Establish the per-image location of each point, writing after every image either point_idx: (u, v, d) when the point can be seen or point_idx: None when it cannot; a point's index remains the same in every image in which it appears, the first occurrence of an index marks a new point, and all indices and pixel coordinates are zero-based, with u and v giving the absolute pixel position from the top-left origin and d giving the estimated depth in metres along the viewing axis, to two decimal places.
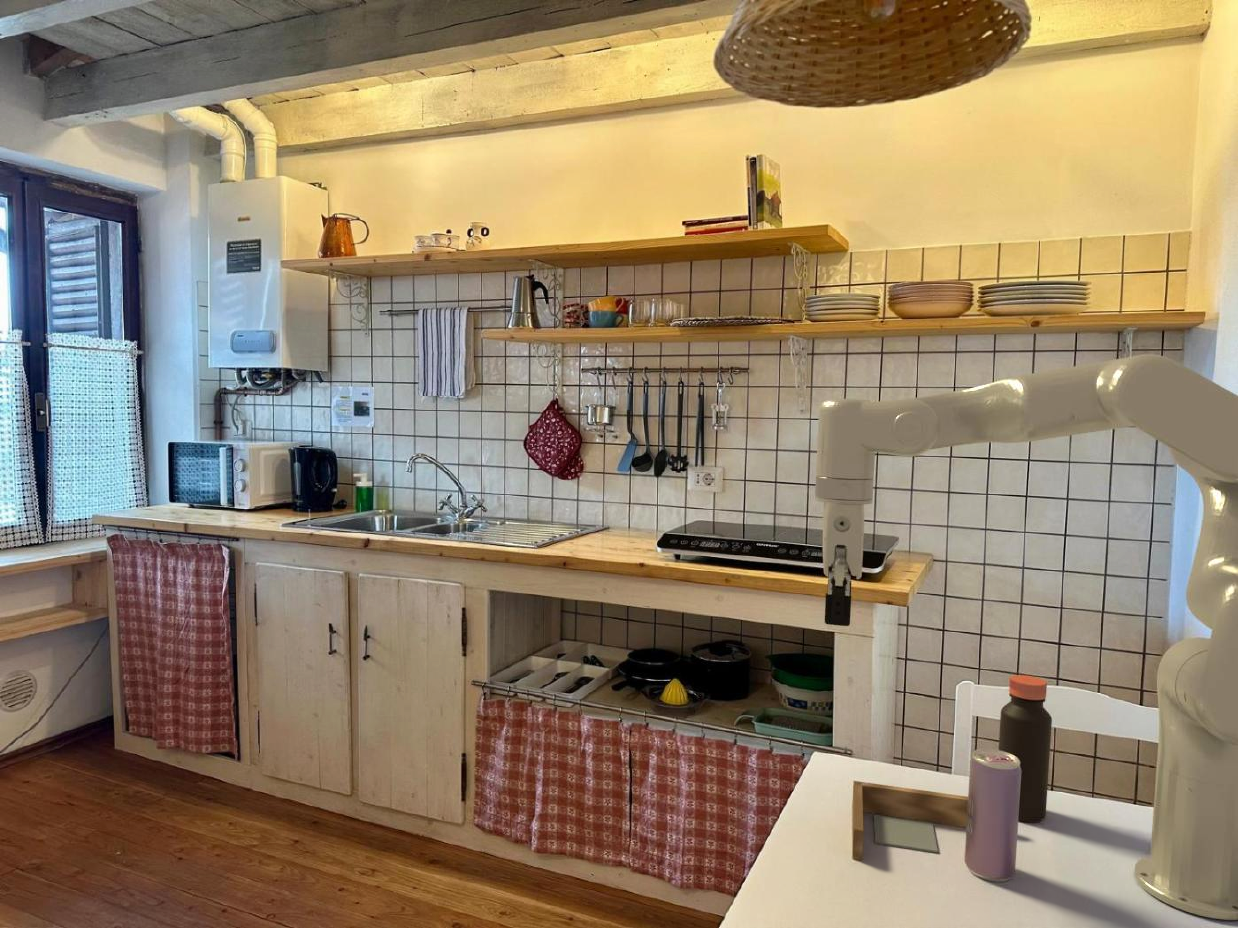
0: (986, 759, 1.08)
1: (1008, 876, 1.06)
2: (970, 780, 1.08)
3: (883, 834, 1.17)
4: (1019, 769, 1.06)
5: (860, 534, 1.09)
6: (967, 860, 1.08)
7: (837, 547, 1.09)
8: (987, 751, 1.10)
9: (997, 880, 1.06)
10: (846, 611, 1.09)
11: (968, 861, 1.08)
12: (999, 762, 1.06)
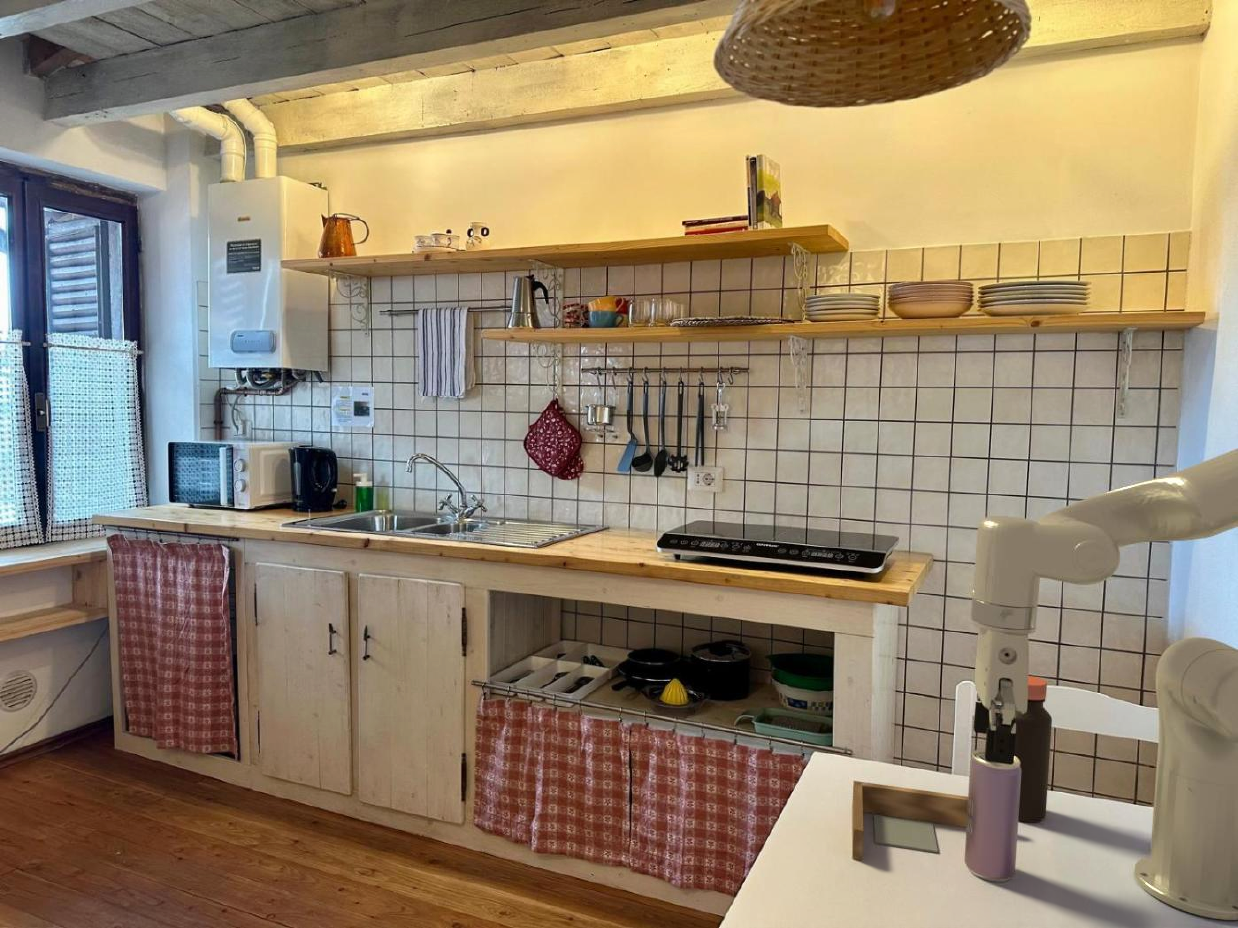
0: None
1: (1008, 876, 1.06)
2: (970, 780, 1.08)
3: (883, 834, 1.17)
4: (1019, 769, 1.06)
5: (1027, 667, 1.02)
6: (967, 860, 1.08)
7: (1002, 680, 1.02)
8: None
9: (997, 880, 1.06)
10: (1010, 748, 1.02)
11: (968, 861, 1.08)
12: None
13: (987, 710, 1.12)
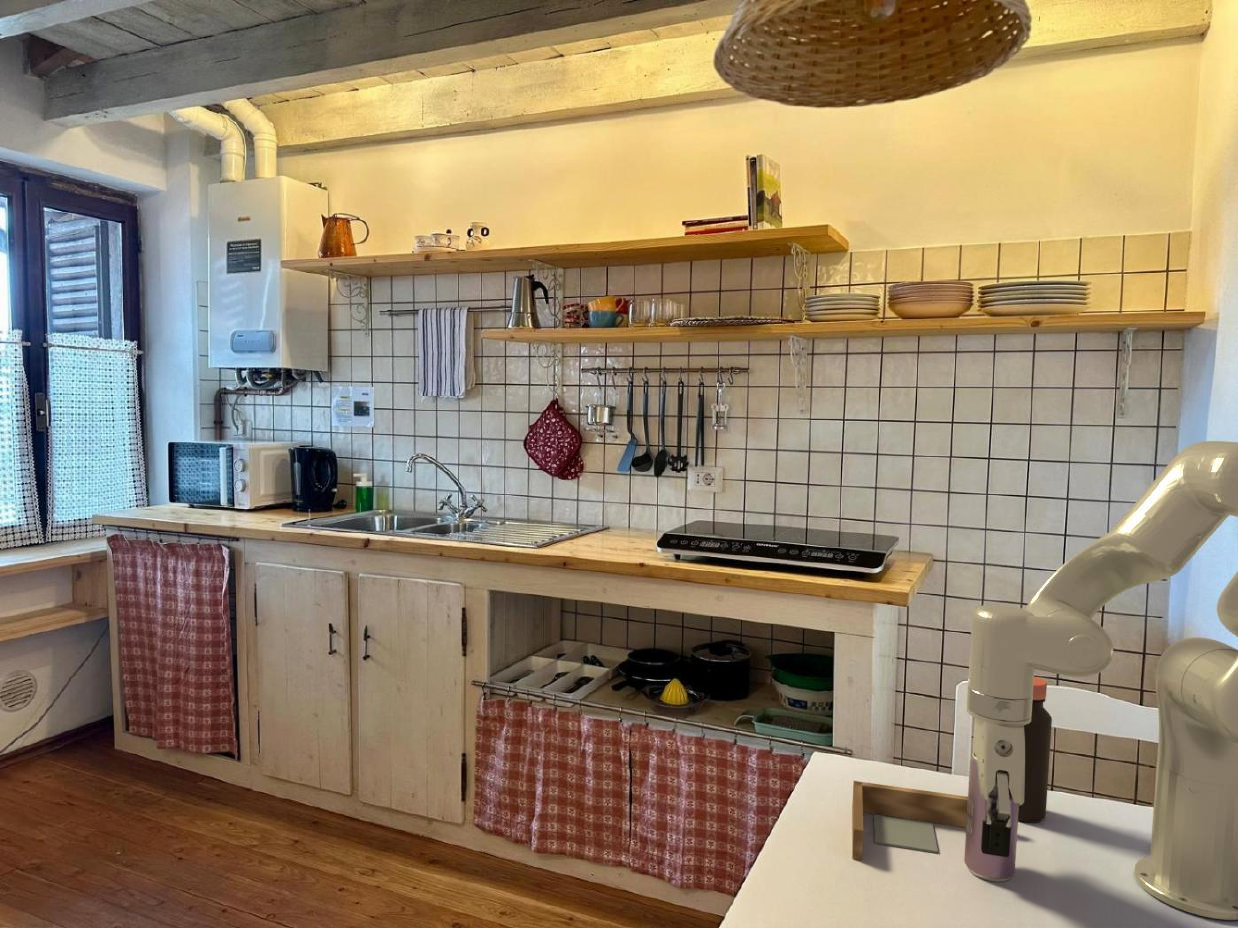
0: None
1: (1008, 876, 1.06)
2: (970, 780, 1.08)
3: (883, 834, 1.17)
4: None
5: (1023, 759, 1.02)
6: (966, 860, 1.08)
7: (998, 776, 1.03)
8: None
9: (997, 880, 1.06)
10: (1005, 841, 1.04)
11: (968, 861, 1.08)
12: None
13: None
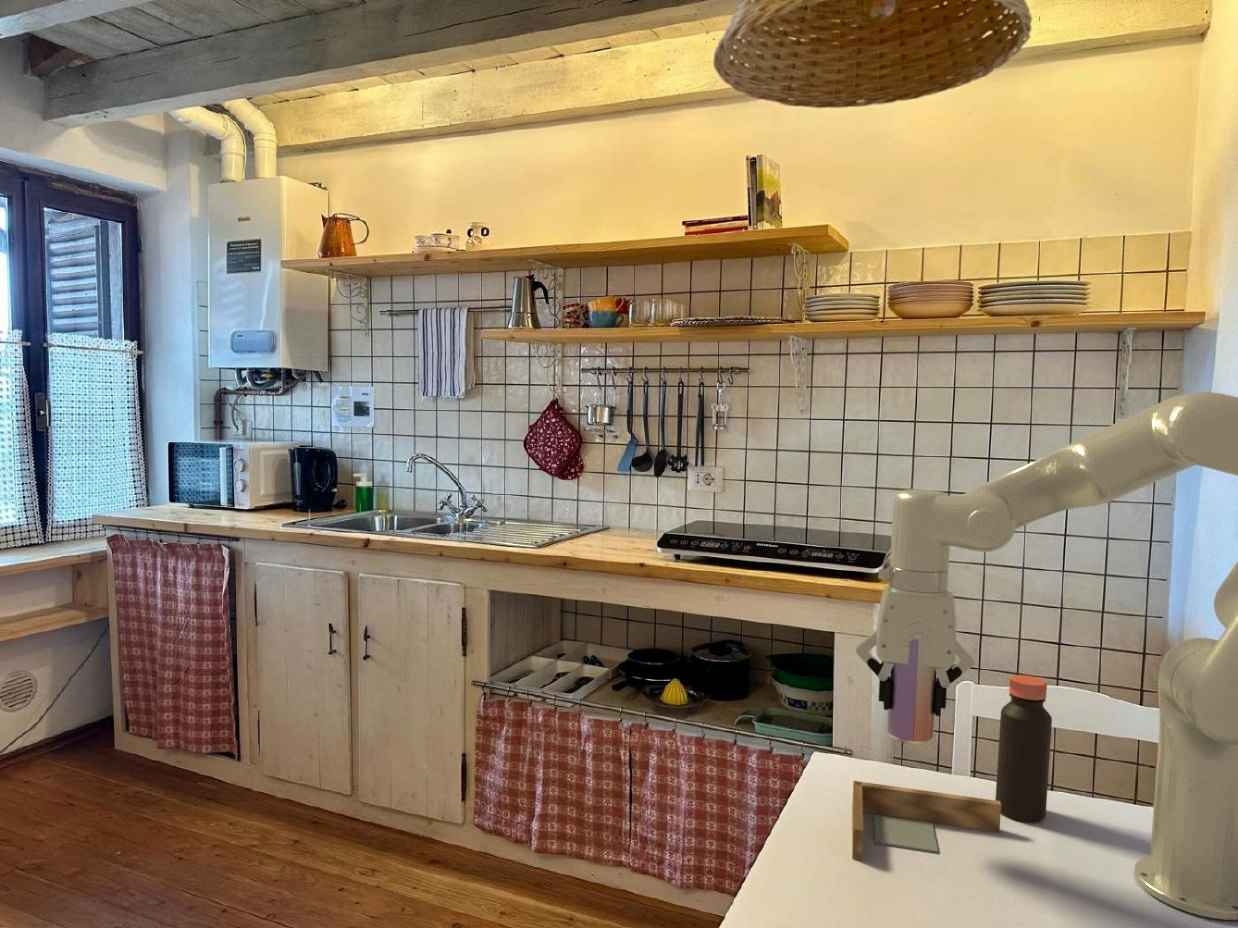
0: None
1: (892, 734, 1.15)
2: None
3: (883, 834, 1.17)
4: None
5: (881, 618, 1.14)
6: None
7: None
8: None
9: (890, 734, 1.17)
10: (884, 695, 1.16)
11: None
12: None
13: None
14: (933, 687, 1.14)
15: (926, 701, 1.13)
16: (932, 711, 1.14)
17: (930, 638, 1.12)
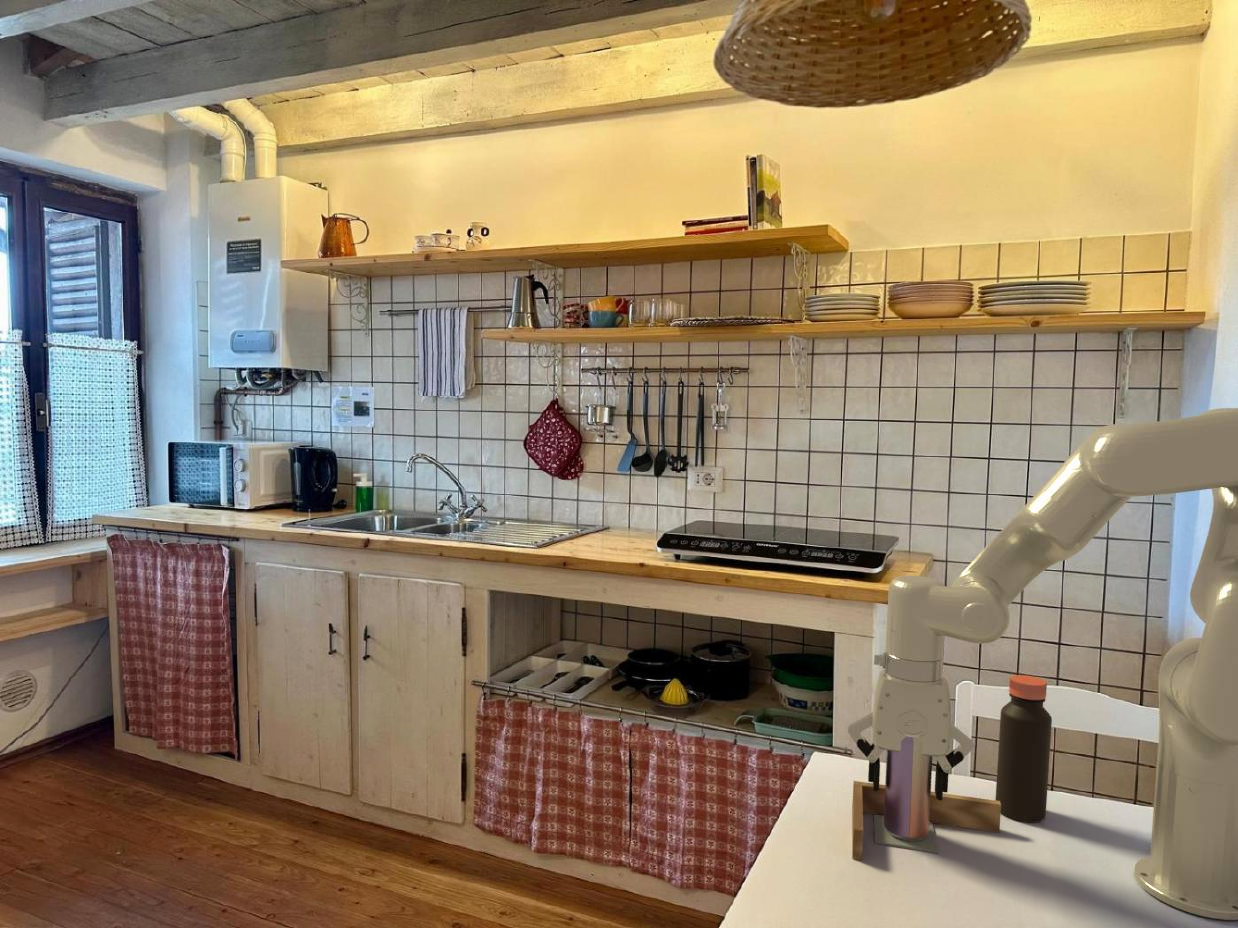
0: None
1: (888, 829, 1.16)
2: None
3: (883, 834, 1.17)
4: None
5: (877, 705, 1.15)
6: None
7: (872, 712, 1.18)
8: None
9: (886, 829, 1.18)
10: (874, 776, 1.17)
11: None
12: None
13: (936, 772, 1.16)
14: (928, 784, 1.15)
15: (922, 799, 1.14)
16: (928, 808, 1.15)
17: (925, 726, 1.13)
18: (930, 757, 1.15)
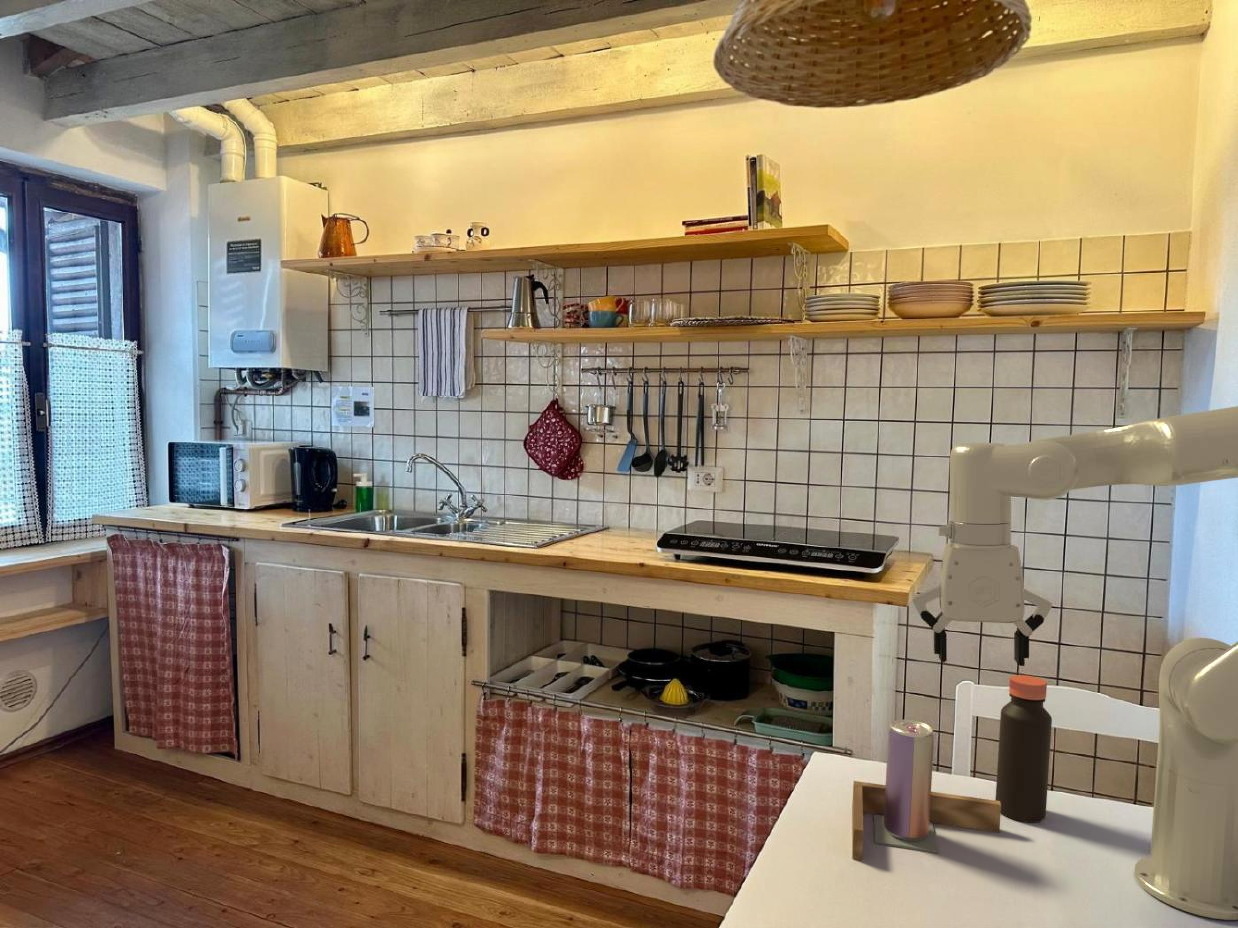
0: None
1: (889, 829, 1.16)
2: None
3: (883, 834, 1.17)
4: (903, 738, 1.14)
5: (946, 575, 1.12)
6: None
7: None
8: (926, 728, 1.17)
9: (886, 829, 1.18)
10: (940, 647, 1.14)
11: None
12: (901, 727, 1.17)
13: (1016, 638, 1.13)
14: (929, 784, 1.15)
15: (922, 799, 1.14)
16: (928, 808, 1.15)
17: (997, 592, 1.10)
18: (931, 757, 1.15)
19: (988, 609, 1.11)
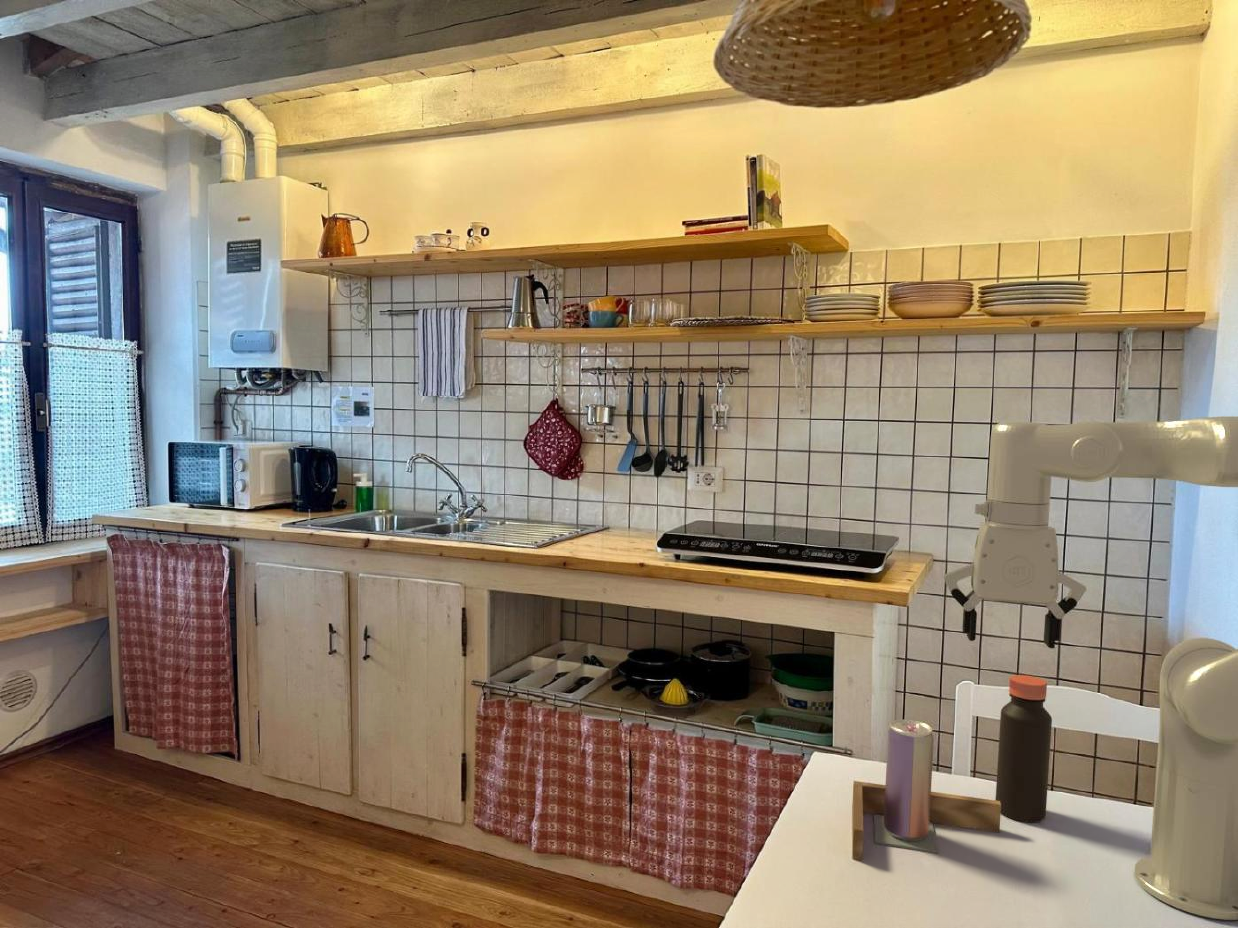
0: None
1: (888, 829, 1.16)
2: None
3: (883, 834, 1.17)
4: (903, 737, 1.14)
5: (980, 553, 1.11)
6: None
7: (972, 563, 1.14)
8: (926, 727, 1.17)
9: (886, 829, 1.18)
10: (970, 626, 1.13)
11: None
12: (901, 726, 1.17)
13: (1047, 621, 1.12)
14: (929, 784, 1.15)
15: (922, 798, 1.14)
16: (928, 808, 1.15)
17: (1032, 573, 1.09)
18: (930, 757, 1.15)
19: (1021, 589, 1.10)
